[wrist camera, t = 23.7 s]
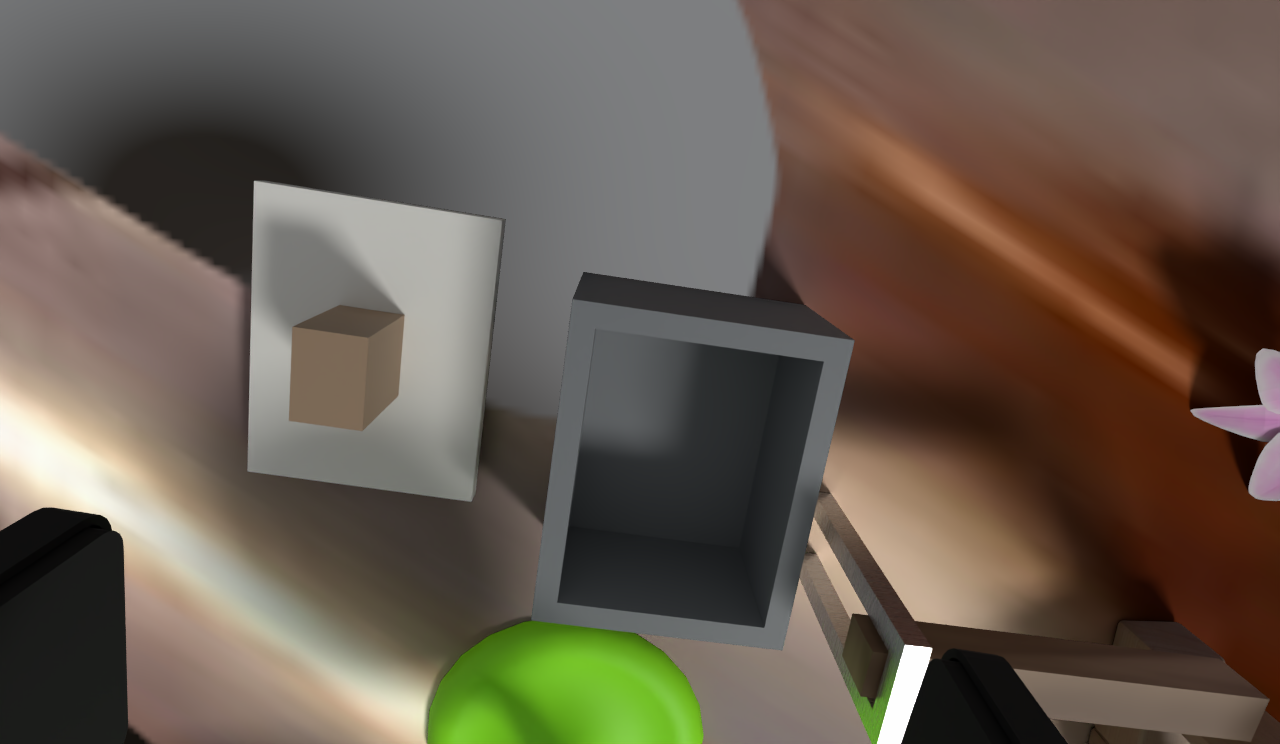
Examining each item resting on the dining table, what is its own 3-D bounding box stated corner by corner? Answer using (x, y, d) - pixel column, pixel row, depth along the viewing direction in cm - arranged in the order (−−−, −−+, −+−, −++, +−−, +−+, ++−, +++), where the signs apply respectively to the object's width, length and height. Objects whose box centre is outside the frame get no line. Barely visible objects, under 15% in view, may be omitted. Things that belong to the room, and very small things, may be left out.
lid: (274, 180, 34) (189, 181, 28) (508, 217, 35) (481, 228, 28) (266, 456, 38) (189, 517, 31) (479, 485, 39) (448, 551, 32)
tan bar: (852, 613, 30) (872, 651, 28) (1218, 658, 31) (1269, 699, 29) (841, 655, 30) (860, 696, 28) (1202, 698, 31) (1250, 741, 29)
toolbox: (583, 272, 35) (561, 326, 23) (873, 315, 36) (1007, 390, 24) (548, 537, 39) (512, 710, 26) (813, 570, 40) (901, 754, 27)
